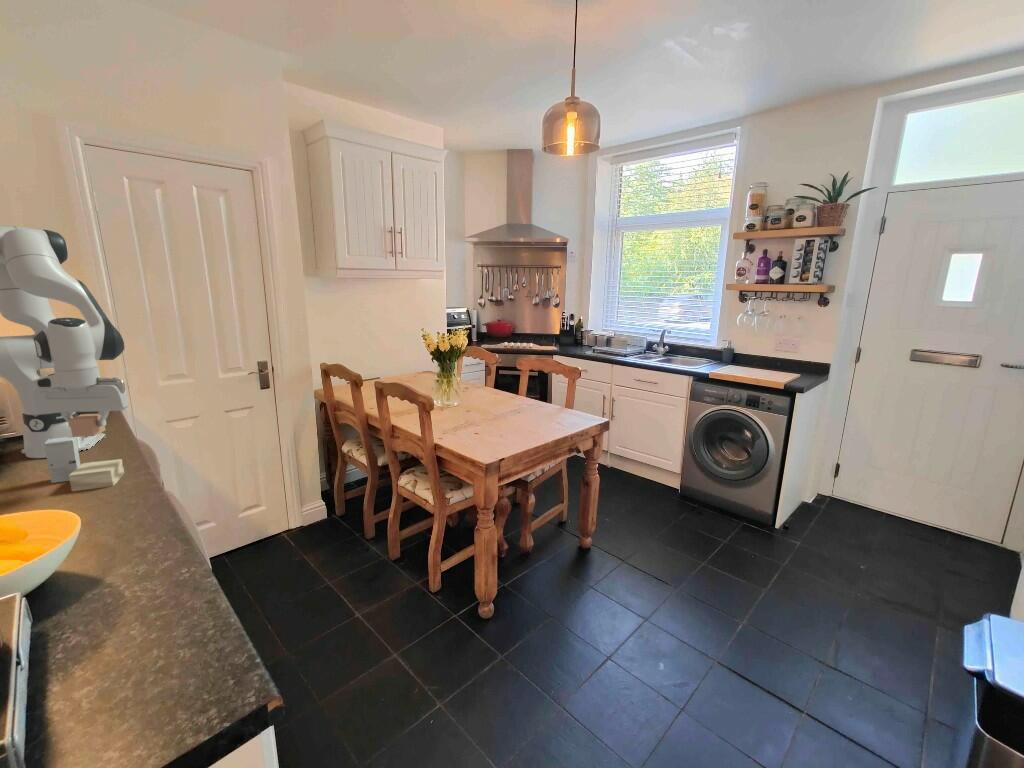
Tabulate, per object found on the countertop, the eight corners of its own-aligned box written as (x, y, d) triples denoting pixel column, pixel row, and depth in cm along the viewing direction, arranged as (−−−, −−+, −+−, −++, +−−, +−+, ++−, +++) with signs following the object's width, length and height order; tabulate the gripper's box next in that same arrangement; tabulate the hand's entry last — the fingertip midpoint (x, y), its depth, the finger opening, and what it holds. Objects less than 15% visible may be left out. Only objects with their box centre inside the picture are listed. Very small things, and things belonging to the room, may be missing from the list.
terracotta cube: (84, 431, 128) (81, 414, 127) (105, 430, 129) (102, 413, 128) (72, 437, 124) (69, 419, 122) (94, 436, 125) (90, 418, 124)
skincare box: (51, 484, 128) (42, 443, 125) (55, 478, 132) (46, 439, 129) (80, 479, 131) (72, 440, 129) (83, 473, 135) (75, 435, 132)
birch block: (85, 479, 132) (82, 463, 131) (124, 474, 136) (121, 459, 135) (72, 492, 124) (68, 475, 123) (113, 486, 128) (110, 470, 127)
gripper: (129, 375, 128) (137, 421, 131) (43, 376, 124) (53, 424, 127) (116, 380, 122) (124, 428, 125) (24, 381, 118) (35, 431, 121)
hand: (88, 426), depth 126 cm, fingers closed on terracotta cube, 5 cm apart
